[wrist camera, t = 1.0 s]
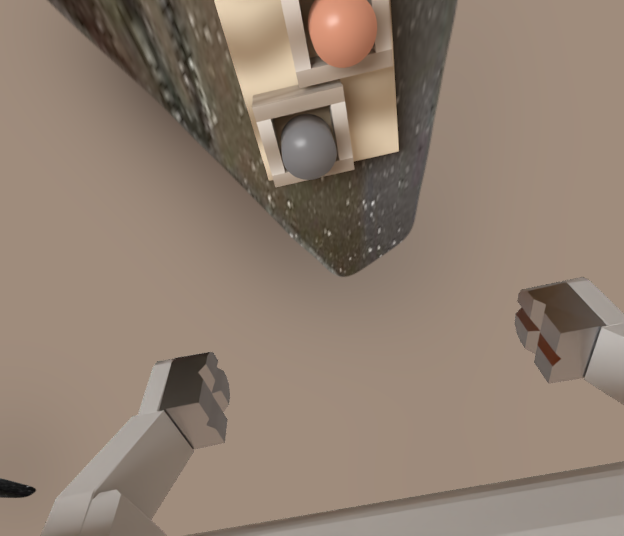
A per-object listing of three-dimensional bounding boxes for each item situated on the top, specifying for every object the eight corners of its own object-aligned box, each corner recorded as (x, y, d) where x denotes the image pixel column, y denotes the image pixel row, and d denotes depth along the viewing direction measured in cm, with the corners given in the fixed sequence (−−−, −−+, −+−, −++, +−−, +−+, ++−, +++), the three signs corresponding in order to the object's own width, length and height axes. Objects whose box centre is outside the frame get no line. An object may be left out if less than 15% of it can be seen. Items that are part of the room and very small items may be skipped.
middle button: (301, -6, 27) (305, 1, 25) (364, -22, 27) (374, -16, 25) (313, 62, 30) (318, 74, 28) (371, 48, 30) (379, 59, 28)
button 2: (275, 120, 33) (275, 135, 31) (327, 108, 33) (331, 122, 30) (287, 168, 36) (289, 184, 34) (335, 157, 36) (340, 173, 33)
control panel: (167, -183, 26) (142, -207, 21) (362, -239, 25) (388, -280, 20) (268, 162, 43) (269, 196, 37) (389, 134, 42) (407, 165, 37)
